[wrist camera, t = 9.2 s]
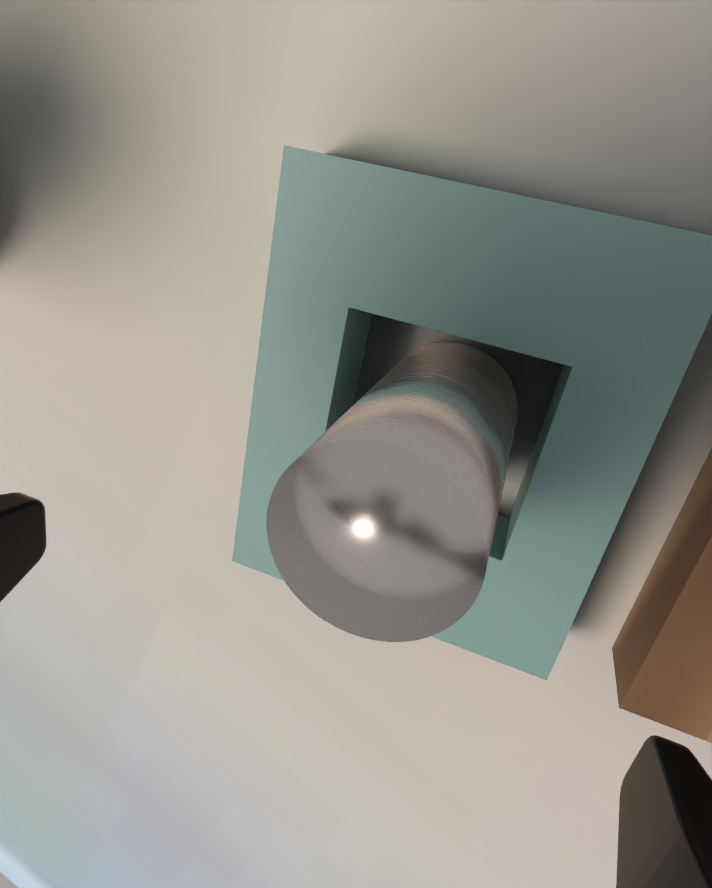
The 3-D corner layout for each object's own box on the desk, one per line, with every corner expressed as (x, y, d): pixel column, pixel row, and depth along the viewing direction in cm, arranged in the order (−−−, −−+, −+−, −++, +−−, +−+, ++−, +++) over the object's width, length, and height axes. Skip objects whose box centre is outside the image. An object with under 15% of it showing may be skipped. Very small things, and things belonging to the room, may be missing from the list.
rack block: (714, 236, 14) (744, 242, 12) (548, 624, 19) (546, 679, 17) (322, 154, 16) (284, 145, 14) (267, 523, 21) (232, 560, 19)
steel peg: (536, 363, 16) (518, 484, 9) (494, 488, 18) (451, 673, 11) (398, 326, 17) (281, 409, 10) (370, 449, 19) (254, 595, 12)
